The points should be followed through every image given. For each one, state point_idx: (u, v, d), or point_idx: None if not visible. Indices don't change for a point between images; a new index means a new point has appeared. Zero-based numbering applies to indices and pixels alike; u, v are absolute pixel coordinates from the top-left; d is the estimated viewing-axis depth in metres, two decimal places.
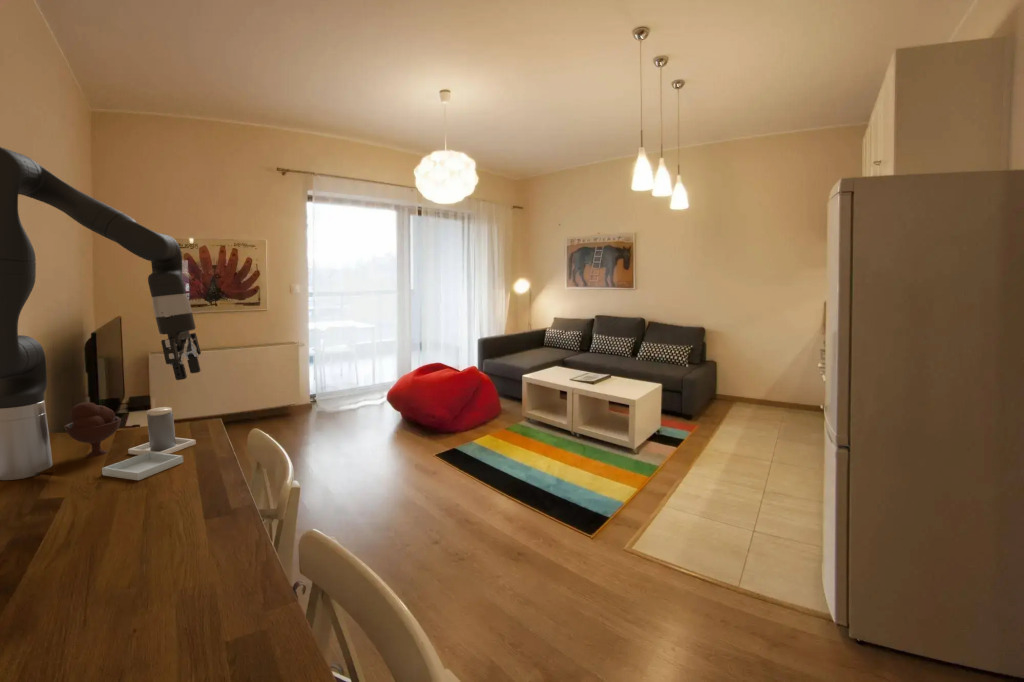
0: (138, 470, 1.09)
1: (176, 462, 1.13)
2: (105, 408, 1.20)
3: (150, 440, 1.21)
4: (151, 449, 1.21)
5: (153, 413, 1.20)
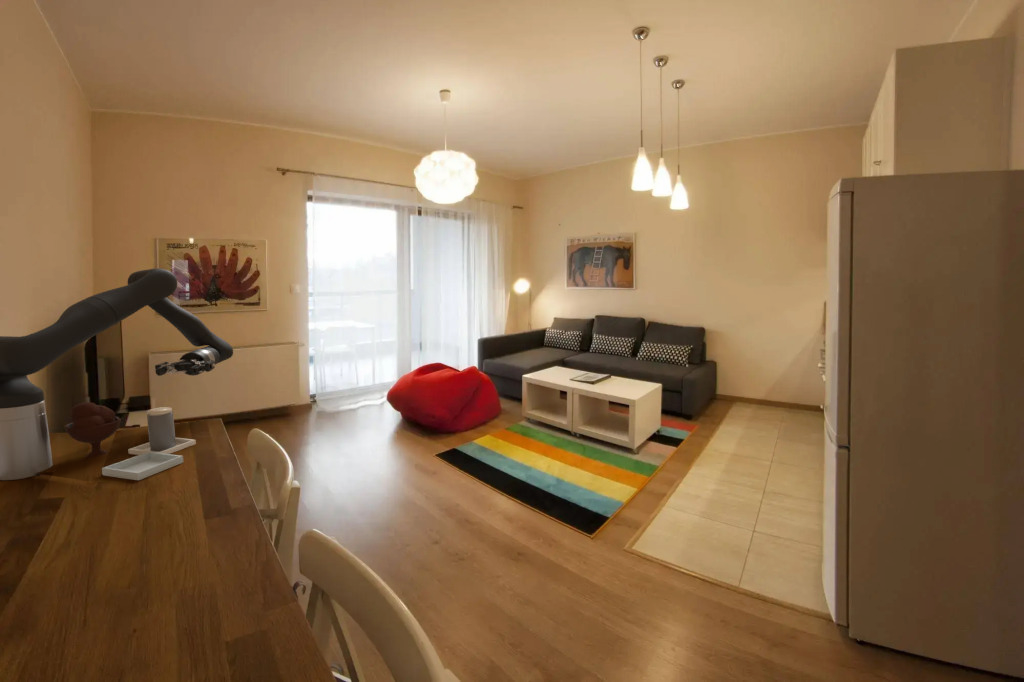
0: (138, 470, 1.09)
1: (176, 462, 1.13)
2: (105, 408, 1.20)
3: (150, 440, 1.21)
4: (151, 449, 1.21)
5: (153, 413, 1.20)
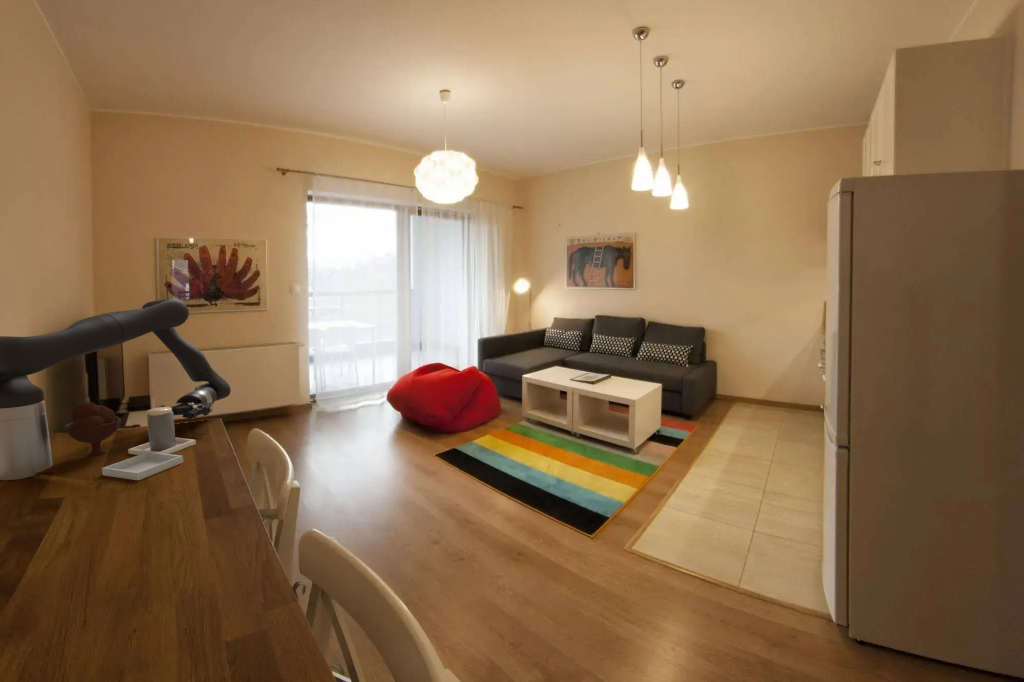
0: (138, 470, 1.09)
1: (176, 462, 1.13)
2: (105, 408, 1.20)
3: (150, 440, 1.21)
4: (151, 449, 1.21)
5: (153, 413, 1.20)
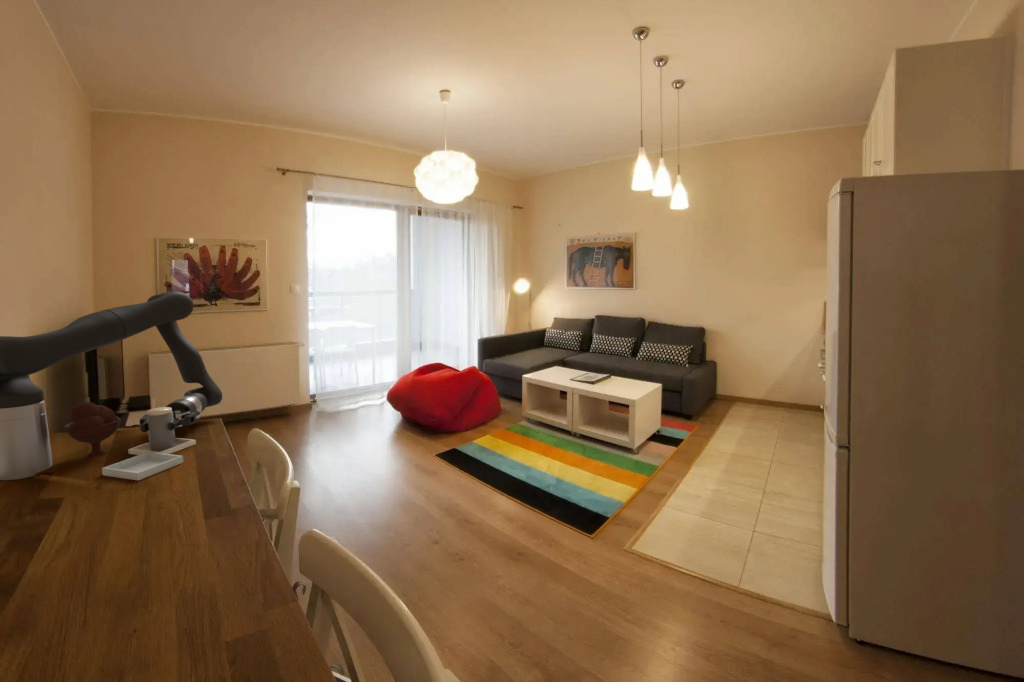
0: (138, 470, 1.09)
1: (176, 462, 1.13)
2: (105, 408, 1.20)
3: (150, 440, 1.21)
4: (151, 449, 1.21)
5: (153, 413, 1.20)
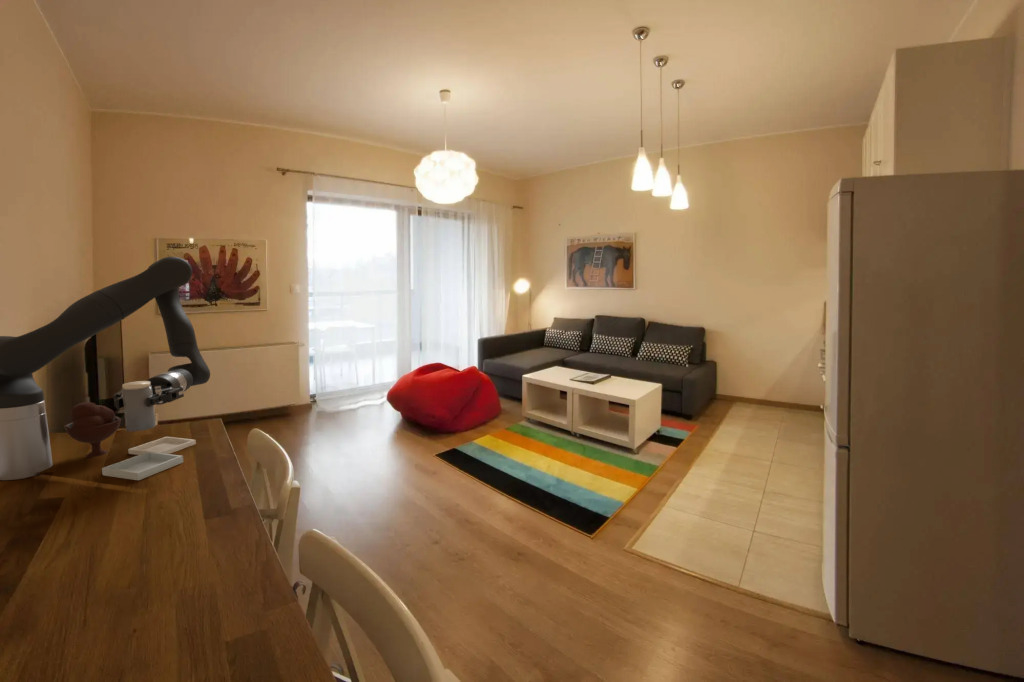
0: (138, 470, 1.09)
1: (176, 462, 1.13)
2: (105, 408, 1.20)
3: (126, 417, 1.07)
4: (127, 428, 1.07)
5: (128, 387, 1.06)
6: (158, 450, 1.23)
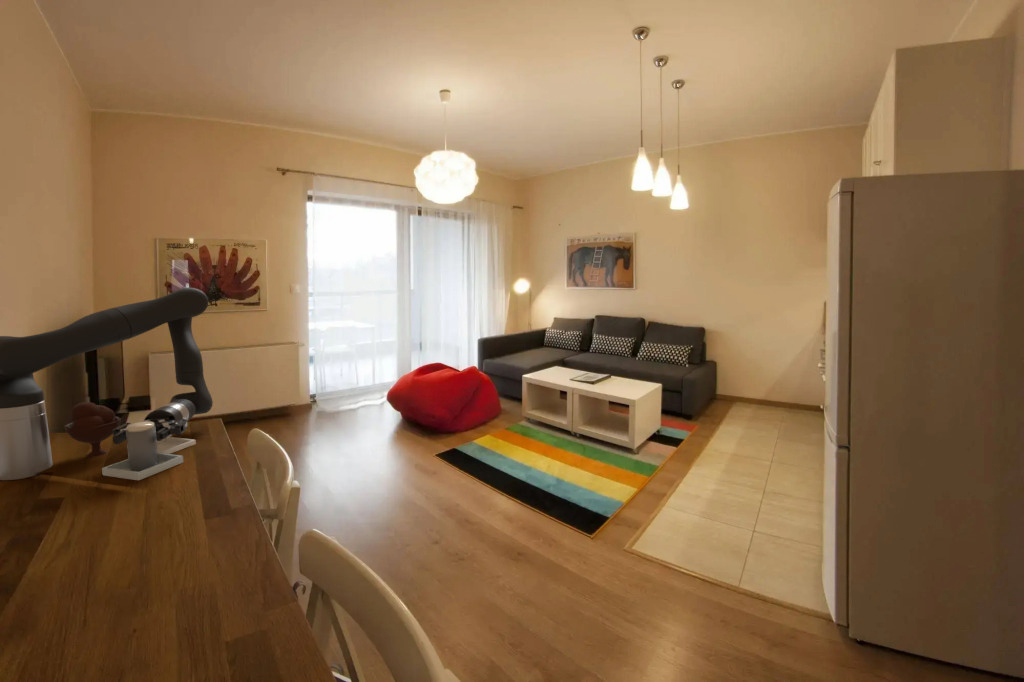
0: None
1: (176, 462, 1.13)
2: (105, 408, 1.20)
3: (130, 459, 1.08)
4: (130, 469, 1.08)
5: (132, 429, 1.07)
6: (158, 450, 1.23)
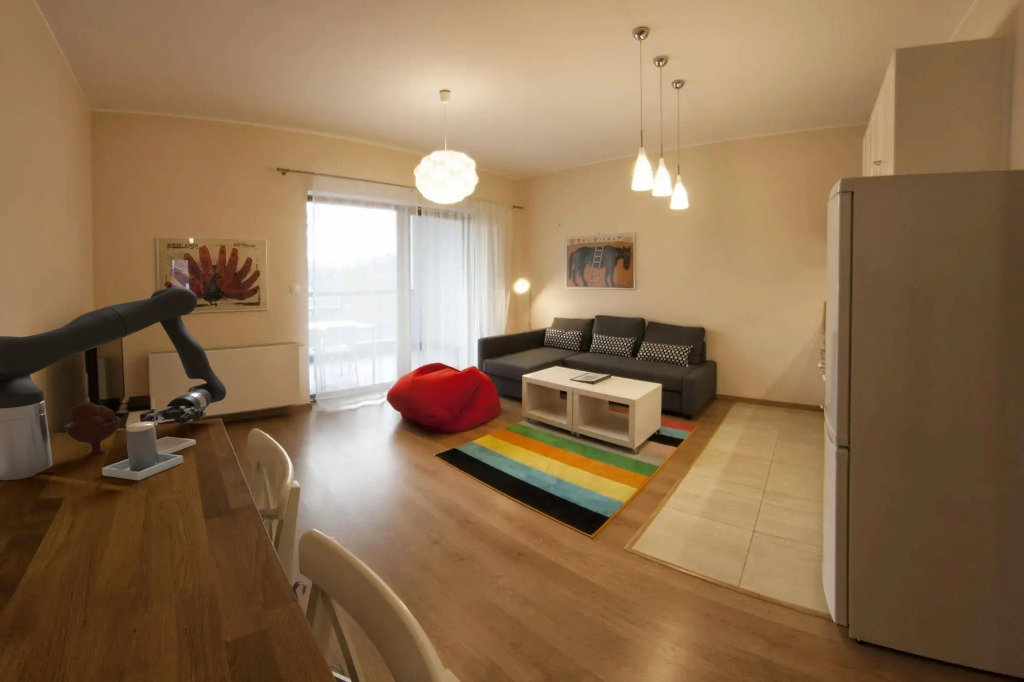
0: None
1: (176, 462, 1.13)
2: (105, 408, 1.20)
3: (130, 459, 1.08)
4: (130, 469, 1.08)
5: (132, 429, 1.07)
6: (158, 450, 1.23)
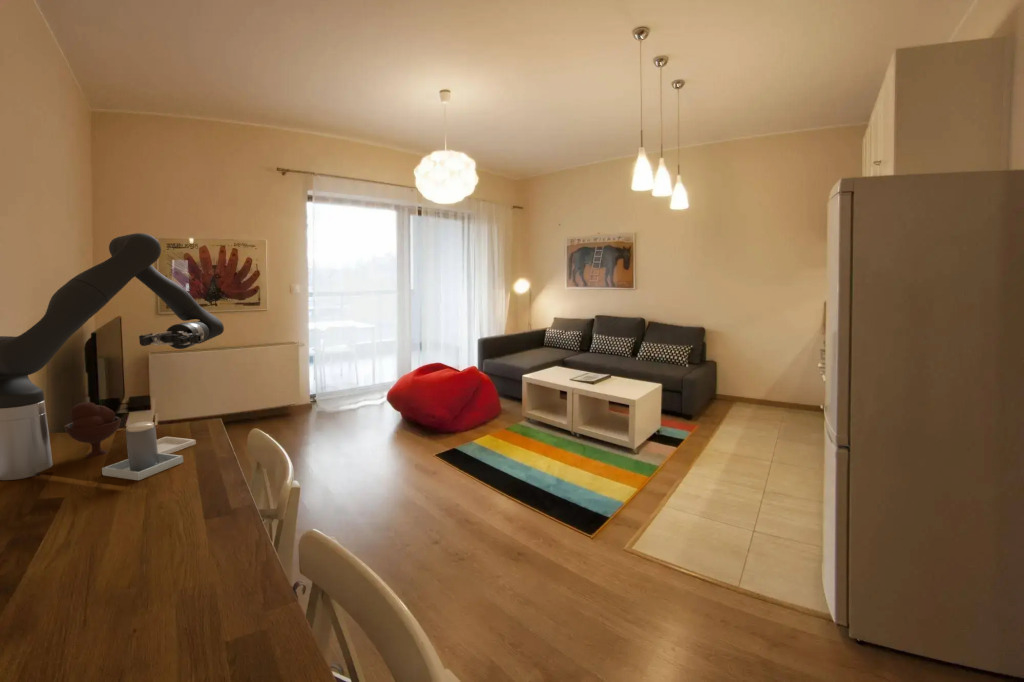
0: None
1: (176, 462, 1.13)
2: (105, 408, 1.20)
3: (130, 459, 1.08)
4: (130, 469, 1.08)
5: (132, 429, 1.07)
6: (158, 450, 1.23)
